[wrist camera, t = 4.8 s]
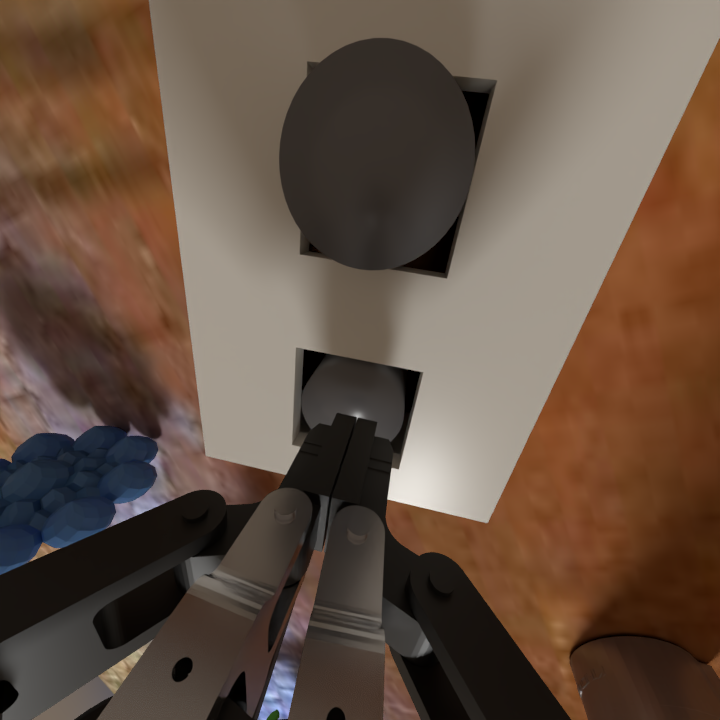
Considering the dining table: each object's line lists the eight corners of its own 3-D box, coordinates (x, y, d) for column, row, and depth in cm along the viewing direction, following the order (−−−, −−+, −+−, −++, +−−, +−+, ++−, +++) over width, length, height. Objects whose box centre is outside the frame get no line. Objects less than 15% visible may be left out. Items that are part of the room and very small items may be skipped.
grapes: (74, 456, 28) (-143, 609, 17) (49, 392, 25) (-234, 529, 14) (194, 485, 26) (41, 669, 16) (183, 422, 23) (-15, 596, 13)
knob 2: (415, 331, 16) (413, 376, 12) (400, 400, 18) (393, 461, 14) (334, 316, 17) (303, 354, 12) (328, 386, 19) (299, 439, 14)
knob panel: (755, -337, 8) (1414, -1417, 3) (469, 438, 20) (487, 523, 14) (247, -323, 9) (20, -1020, 4) (260, 394, 21) (205, 455, 16)
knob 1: (468, 119, 10) (505, 48, 6) (436, 257, 12) (445, 283, 8) (338, 104, 11) (280, 28, 6) (328, 240, 13) (277, 256, 8)
